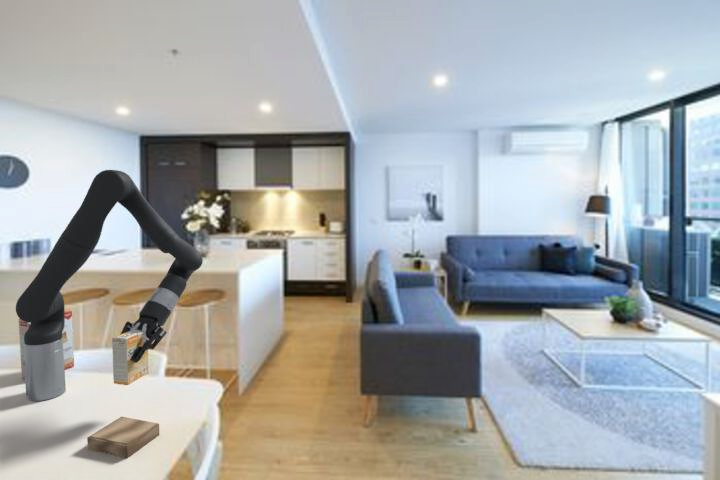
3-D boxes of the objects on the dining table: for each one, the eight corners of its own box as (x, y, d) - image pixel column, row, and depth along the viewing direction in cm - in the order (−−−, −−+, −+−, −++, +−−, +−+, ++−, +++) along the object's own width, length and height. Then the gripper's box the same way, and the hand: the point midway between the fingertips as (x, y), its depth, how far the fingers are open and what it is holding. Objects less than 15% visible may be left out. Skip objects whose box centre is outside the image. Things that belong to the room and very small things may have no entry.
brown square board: (87, 449, 99) (87, 436, 99) (122, 427, 109) (121, 415, 108) (127, 458, 96) (127, 445, 96) (159, 434, 105) (159, 422, 105)
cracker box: (32, 382, 134) (28, 320, 132) (21, 379, 136) (16, 318, 134) (75, 366, 147) (72, 309, 145) (64, 363, 149) (61, 308, 147)
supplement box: (128, 386, 110) (126, 338, 108) (112, 384, 111) (110, 337, 109) (150, 373, 118) (148, 329, 116) (135, 371, 119) (134, 327, 117)
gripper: (133, 297, 121) (97, 349, 111) (171, 302, 116) (136, 358, 106) (149, 310, 127) (115, 361, 117) (185, 315, 122) (153, 369, 112)
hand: (125, 359), depth 112 cm, fingers closed on supplement box, 5 cm apart
